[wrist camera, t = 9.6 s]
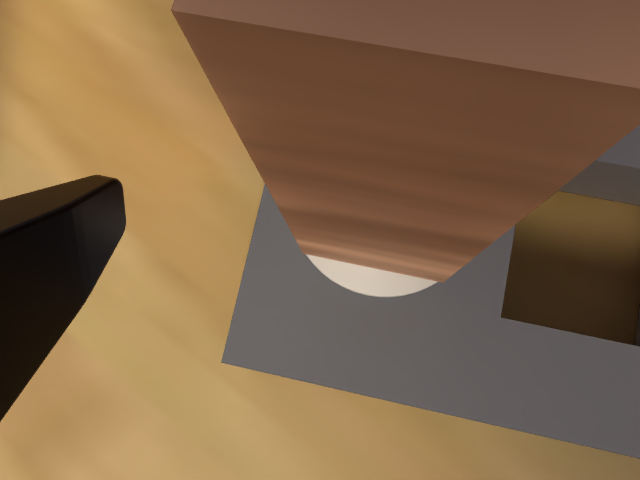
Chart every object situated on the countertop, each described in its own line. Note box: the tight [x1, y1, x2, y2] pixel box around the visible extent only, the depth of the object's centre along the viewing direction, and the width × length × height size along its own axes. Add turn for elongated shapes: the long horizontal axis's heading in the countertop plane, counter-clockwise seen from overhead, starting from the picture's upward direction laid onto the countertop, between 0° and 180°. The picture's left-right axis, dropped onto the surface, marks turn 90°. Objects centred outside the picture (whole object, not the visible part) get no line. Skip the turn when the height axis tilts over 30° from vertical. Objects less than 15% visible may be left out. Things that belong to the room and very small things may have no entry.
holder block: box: [221, 125, 640, 459], centre depth 19 cm, size 12×22×4 cm, turn 78°
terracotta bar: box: [171, 0, 640, 283], centre depth 12 cm, size 4×4×13 cm
